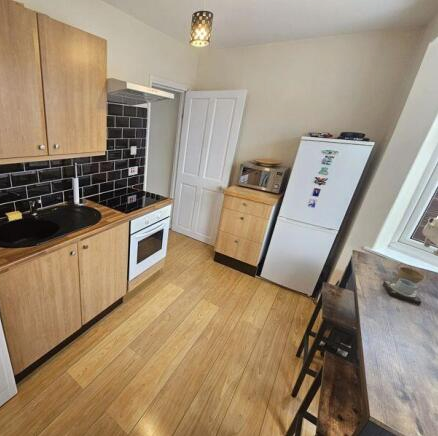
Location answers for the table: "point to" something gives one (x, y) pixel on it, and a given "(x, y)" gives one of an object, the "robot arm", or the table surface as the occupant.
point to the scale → (401, 294)
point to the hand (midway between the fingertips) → (430, 250)
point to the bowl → (405, 286)
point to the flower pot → (410, 275)
